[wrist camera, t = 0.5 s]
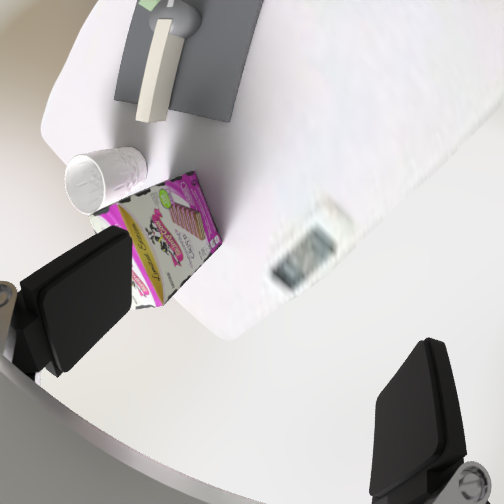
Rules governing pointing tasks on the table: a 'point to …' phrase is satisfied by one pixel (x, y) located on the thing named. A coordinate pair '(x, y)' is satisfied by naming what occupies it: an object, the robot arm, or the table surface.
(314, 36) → the table surface
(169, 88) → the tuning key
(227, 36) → the tuner board
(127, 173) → the white cup
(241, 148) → the table surface
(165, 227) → the candy bar box
